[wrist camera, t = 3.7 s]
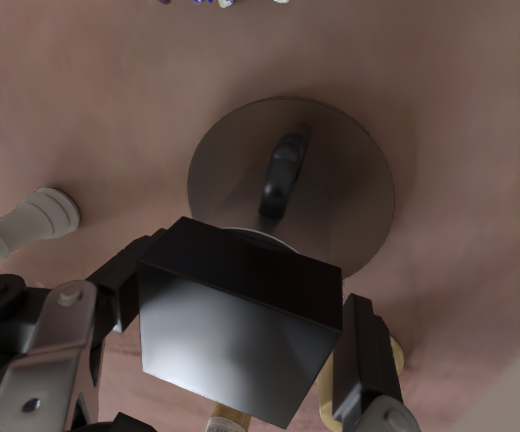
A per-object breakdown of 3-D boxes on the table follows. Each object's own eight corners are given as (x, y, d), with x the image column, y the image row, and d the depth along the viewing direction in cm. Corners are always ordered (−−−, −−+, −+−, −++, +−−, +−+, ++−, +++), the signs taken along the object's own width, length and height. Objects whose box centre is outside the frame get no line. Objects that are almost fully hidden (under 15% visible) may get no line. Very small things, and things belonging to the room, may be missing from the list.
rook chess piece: (31, 197, 24) (-93, 246, 17) (55, 176, 22) (-74, 223, 15) (66, 236, 25) (-35, 296, 18) (92, 220, 23) (-11, 281, 16)
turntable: (189, 247, 22) (182, 256, 21) (203, 72, 15) (193, 71, 14) (344, 300, 20) (344, 312, 19) (436, 130, 13) (445, 135, 12)
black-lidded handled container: (313, 263, 18) (291, 437, 9) (228, 234, 18) (134, 372, 10) (367, 131, 13) (423, 236, 5) (251, 101, 14) (113, 143, 5)
